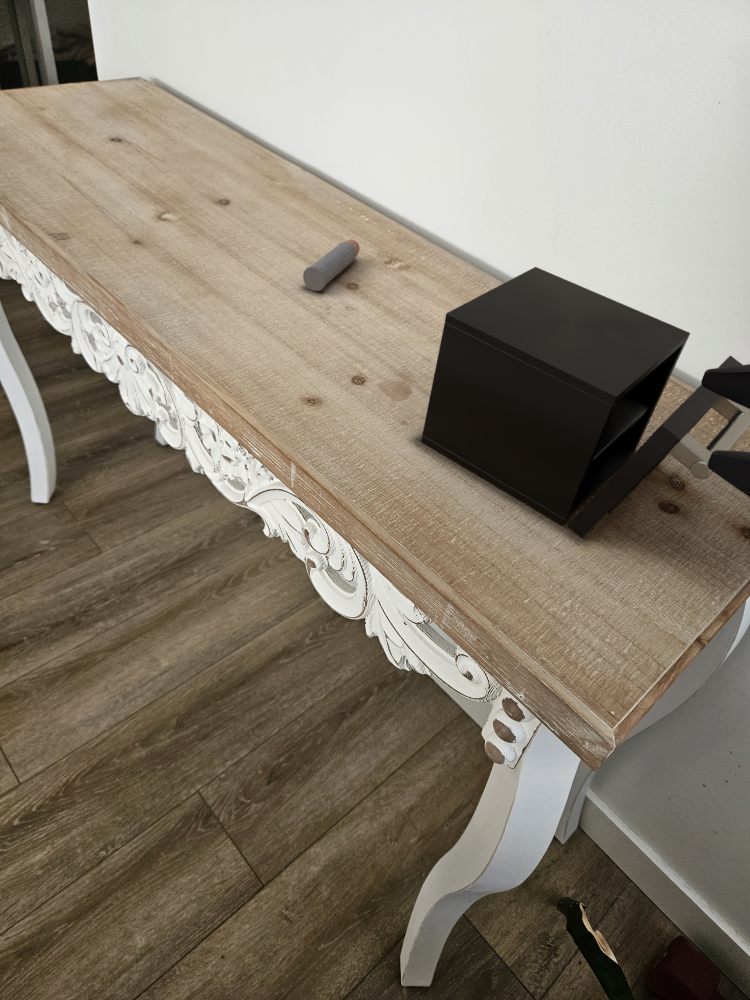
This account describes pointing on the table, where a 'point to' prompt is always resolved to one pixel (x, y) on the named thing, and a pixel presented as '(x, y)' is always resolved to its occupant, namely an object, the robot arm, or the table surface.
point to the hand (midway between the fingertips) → (706, 415)
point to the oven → (547, 388)
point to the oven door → (669, 450)
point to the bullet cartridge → (330, 265)
